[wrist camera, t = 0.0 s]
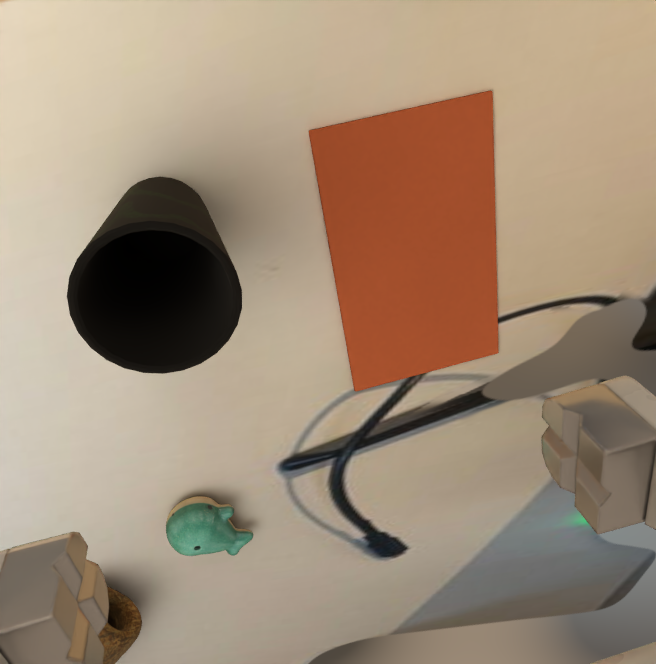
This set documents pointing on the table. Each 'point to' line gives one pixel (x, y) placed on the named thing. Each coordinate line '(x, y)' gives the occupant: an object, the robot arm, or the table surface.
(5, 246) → the table surface
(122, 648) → the wooden vase
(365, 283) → the flat orange rectangular block
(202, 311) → the cup
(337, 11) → the table surface
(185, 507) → the whale figurine
